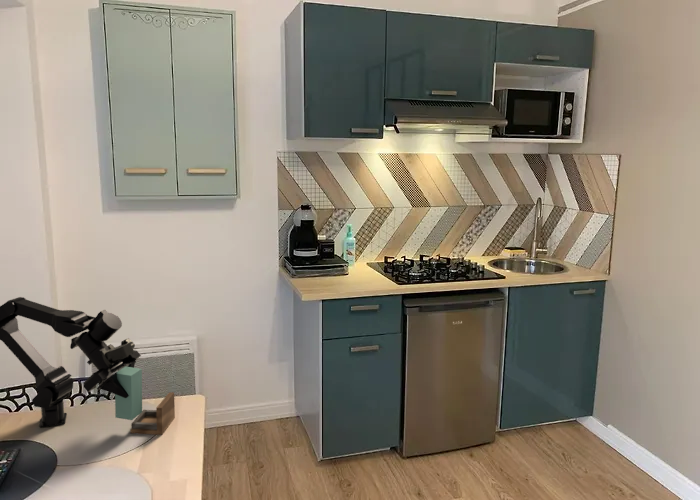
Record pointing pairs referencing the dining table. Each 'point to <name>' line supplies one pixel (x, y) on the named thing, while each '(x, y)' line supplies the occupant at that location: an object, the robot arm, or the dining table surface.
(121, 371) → the teal block
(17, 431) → the dining table surface
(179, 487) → the dining table surface
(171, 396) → the wall board cradle
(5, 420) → the dining table surface
